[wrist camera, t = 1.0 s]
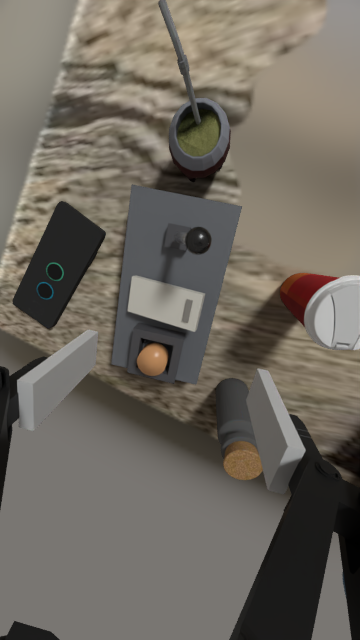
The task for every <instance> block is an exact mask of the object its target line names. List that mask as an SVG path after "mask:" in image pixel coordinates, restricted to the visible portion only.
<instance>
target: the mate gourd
mask: <svg viewBox="0 0 360 640" xmlns="http://www.w3.org/2000/svg"><path fill="white" fill-rule="evenodd" d="M158 4H159V7H160V10H161V13H162V15H163V18H164V21H165V23H166V26H167V29H168V31H169V34H170V37H171V40H172V42H173V45H174V48H175V51H176V54H177V57H178V66H179V69H180V72H181V74H182V75H183V78H184V81H185V85H186V89H187V92H188V96H189V100H190V101H189V102H187V103H185V104H183V105H182V106H181V107H180V109H179V110H178V111H177V112H176V114H175V115H174V117H173V120H172V123H171V126H170V129H169V150H170V153H171V156H172V159H173V162H174V163H175V165H176V166H177V167H178V168H179V169H180V170H181V172H182V173H183V174H184V175H186V176H187V177H188V178H189V180H190V181H192V182H194V181H195V179H196V178H204V177H207V176H209V175H211V174H213V173H215V172H216V171H217V170H218V169H221V168H222V165H223V163H224V162H225V160H226V157H227V154H228V151H229V149H230V132H231V130H230V127H229V123H228V120H227V116H226V113H225V112H224V111H223V110H222V108H221V107H220V106H219V105H218V103H216V102H214V101H211V100H209V99H207V98H196V99H195V96H194V91H193V87H192V83H191V79H190V75H189V65H188V61H187V57H186V55H184V52H183V49H182V46H181V43H180V40H179V37H178V34H177V31H176V28H175V25H174V22H173V20H172V17H171V14H170V11H169V8H168V6H167V3H166V0H160V1H159V3H158Z"/></svg>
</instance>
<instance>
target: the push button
mask: <svg viewBox="0 0 360 640" xmlns="http://www.w3.org/2000/svg"><path fill="white" fill-rule="evenodd" d="M168 358H169V354H168V351H167V349H166V348H165V347H164V346H163V345H162V344H159V343H155V342H153V343H149V344H147V345H146V346H144V348H143V349H142V351H141V352H140V354H139V356H138V358H137V365H138V368H139V369H140V370H141V371H142V372H143V373H144V374H146V375H149V376H157V375H159V374H161V373H162V372H163V371H164V370H165V367H166V364H167V361H168Z"/></svg>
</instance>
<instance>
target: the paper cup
mask: <svg viewBox="0 0 360 640" xmlns="http://www.w3.org/2000/svg"><path fill="white" fill-rule="evenodd" d="M280 297H281V300H282V302H283V303H284V305H285V306H286V307H287V308H288V309H289V310H290V311H291V313H292V314H293V315H294V316H295V317H296V318H297V319H298V320H299V321H300V322H301V323H302V325H303V326H304V327H305V328H306V331H307V333H308V335H309V336H310V338H311V339H312V340H313V341H314V342H316V343H317V344H319V345H320V346H322V347H325V348H328V349H333V350H347V349H350V350H356V349H360V276H355V275H354V276H353V275H349V276H343V277H341V278H337V277H330V276H323V275H316V274H308V273H298V274H294V275H292V276H290V277H289V278H287V279H286V280H285V282H284V283H283V284H282V287H281V290H280Z"/></svg>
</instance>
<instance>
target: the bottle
mask: <svg viewBox="0 0 360 640" xmlns="http://www.w3.org/2000/svg"><path fill="white" fill-rule="evenodd" d="M248 394H249V390H248V388H247V386H246V384H245V383H244V382H242V381H241V380H239V379H235V378H229V379H225V380H223V381H221V382H220V383H219V384H218V386H217V388H216V411H217V432H218V439H219V442H220V444H221V453H222V456H223V458H224V462H223V465H224V469H225V471H226V472H227V473H228V474H229V475H230V476H232V477H233V478H236V479H240V480H250V479H253V478H255V477H257V476H258V475H260V473H261V472H262V470H263V468H262V464H261V460H260V456H259V452H258V447H257V443H256V439H255V435H254V431H253V427H252V423H251V418H250V414H249V410H248V406H247V402H246V399H247V397H248Z"/></svg>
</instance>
